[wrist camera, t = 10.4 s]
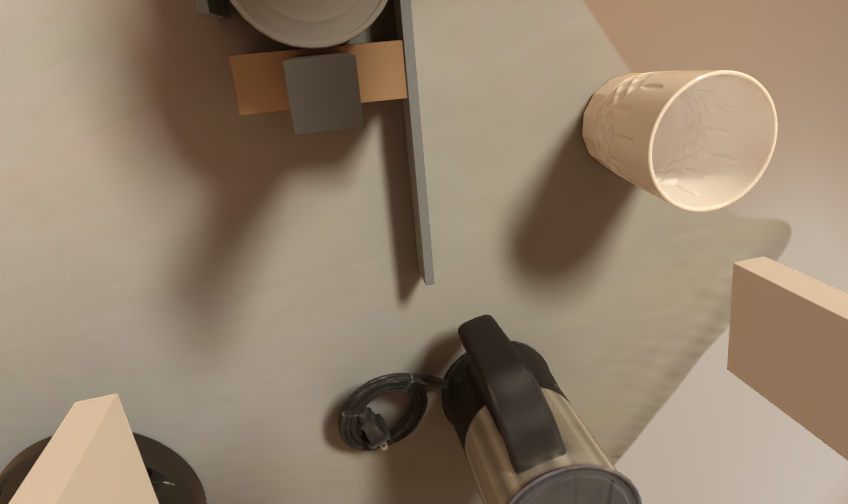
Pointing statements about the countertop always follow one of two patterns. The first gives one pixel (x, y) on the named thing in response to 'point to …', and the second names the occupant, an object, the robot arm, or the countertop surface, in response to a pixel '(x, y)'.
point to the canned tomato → (310, 20)
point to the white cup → (684, 134)
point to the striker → (320, 83)
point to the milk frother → (500, 424)
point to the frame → (213, 6)
